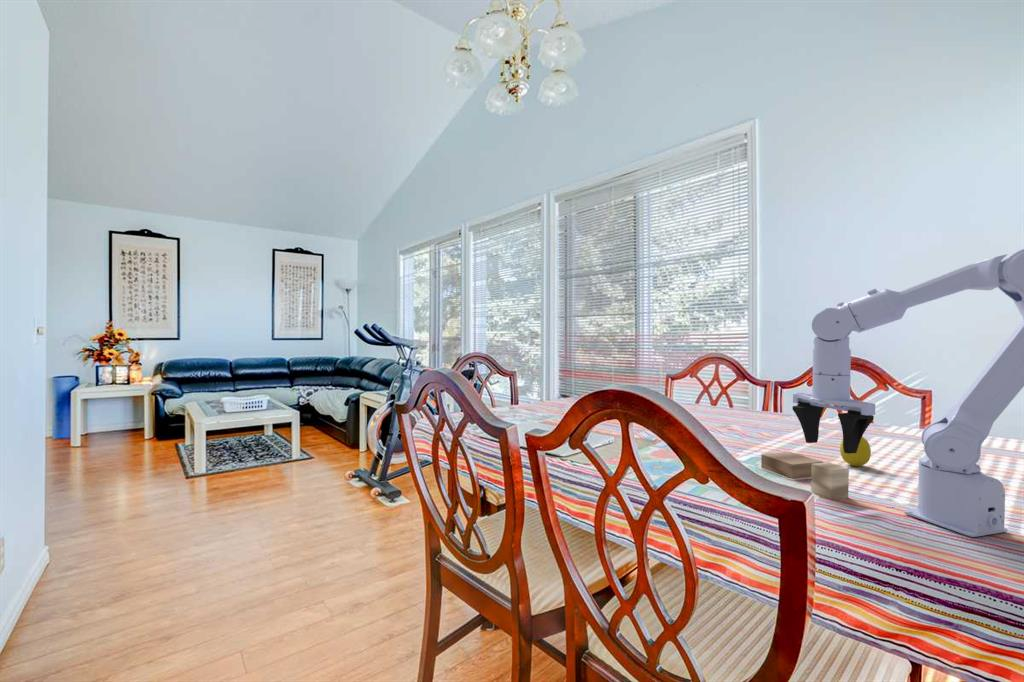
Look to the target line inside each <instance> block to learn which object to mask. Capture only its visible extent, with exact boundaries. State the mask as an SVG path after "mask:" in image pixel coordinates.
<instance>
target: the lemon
mask: <svg viewBox="0 0 1024 682" xmlns="http://www.w3.org/2000/svg"><path fill="white" fill-rule="evenodd" d="M839 450H840V451H839V452H840V456H841V457H842V459H843V461H844V462H845V463H847V464H849V465H850V466H852V467H856V468H857V467H862V466H864V465H866V464H868V462H869V461H870V459H871V456H872V455H871V454H872V451H871V445H870V443H869V442H868V440H867V439H866V438H865V437H863V436H862V438H861V440H860V443H859V446H858V449H857V453H850V454H848V453H844V449H843V439H842V440H841V443H840V448H839Z"/></svg>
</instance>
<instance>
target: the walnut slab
mask: <svg viewBox="0 0 1024 682" xmlns="http://www.w3.org/2000/svg"><path fill="white" fill-rule="evenodd" d="M760 460H761V461H760V463H761V464H760V465H761V466H760V467H761V468H764V469H766V470H769V471H772V472H774V473H777V474H780V475H783V476H785V477H788V478H791V479H797V478H807V477H811V470H812V464H815V463H824V461H822V460H819V459H816V458H813V457H809V456H806V455H802V454H799V453H796V452H792V451H786V452H785V451H784V452H773V453H761V459H760ZM761 468H760V469H761ZM766 470H765V471H766ZM769 471H768V472H769ZM774 473H773V474H774ZM777 474H776V475H777ZM780 475H779V476H780ZM785 477H784V478H785ZM788 478H787V479H788Z"/></svg>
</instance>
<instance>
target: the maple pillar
mask: <svg viewBox="0 0 1024 682" xmlns="http://www.w3.org/2000/svg"><path fill="white" fill-rule="evenodd" d="M849 471H850V469H849V467H845V466H842V465H838V464H835V463H832V462H823V463H815V464H812V470H811V478H810V479H811V485H810V487H811V488H810V492H811V491H812V492H814V493H813V494H815V495H818V496H821V497H823V498H824V499H825V498H826V499H828V500H830V501H831V500H832V501H833V500H839V499H849V483H850V482H849V480H850V479H849V477H850V476H849V475H850V474H849ZM812 492H811V493H812Z"/></svg>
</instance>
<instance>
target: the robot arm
mask: <svg viewBox="0 0 1024 682" xmlns="http://www.w3.org/2000/svg"><path fill="white" fill-rule="evenodd" d="M1007 256H1008V253H1006V254H1001V255H997V256H995V257H994V256H993V257H991V258H987V259H983V260H980V261H976V262H973V263H970V264H967V265H965V266H961V267H960V268H959V267H958V268H957V269H955V270H951V271H950V272H947V273H943V274H941V275H939V276H936V277H934V278H931V279H929V280H926V281H924V282H920V283H918V284H916V285H913V286H911V287H908V288H905V289H903V290H901V291H896V290H892V289H888V288H883V289H880V290H877V289H876V288H873V289H871V290H868V291H867V295H864V296H861V297H858V298H856V299H854V300H850V301H849V302H846V303H844V302H843V301H841V302H838V303H837V304H836V308H835V307H826V308H825V309H823V310H821V311H819V312H818V313H817V314H815V316H814V317H813V319H812V322H811V329H812V332H813V333H814V334H815V336H814V338H813V339H814V340H813V347H814V348H813V349H812V392H811V393H805V392H793V393H792V403H793V404H796V405H792V410H793V412H794V413H795V416H796V417H797V418H798V421H799V423H800V425H801V429H802V433H803V436H804V439H805V443H807V444H816V443H818V440H819V433H820V432H819V430H820V429H819V428H820V422H821V417H822V414H823V411H824V409H826V408H827V409H832V410H838V411H843V412H841V413H840V412H839V413H837V416H838V419H839V422H840V426H841V430H842V440H843V449H844V453H848V454H850V453H857V449H858V446H859V443H860V440H861V438H862V437H863V436H864V434H865V432H866V430H867V429H868V427H869V426H870V424H871V423H872V422H873V420H874V419H875V418H874V416H875V415H876V403H873V402H872V403H871V402H867V401H862V400H858V399H853V398H851V373H852V372H851V369H852V368H851V366H852V364H851V363H852V359H851V358H852V350H851V349H850V336H849V335H851V333H852V332H856V333H863V332H865V331H869V330H872V329H874V328H877V327H881V326H883V325H888V324H890V323H892V322H895V321H899V320H901V319H902V318H903V317H904V315H905V313H906V311H907V310H908V309H910V308H912V307H915V306H918V305H923V304H925V303H928V302H932V301H934V300H938V299H941V298H943V297H947V296H950V295H953V294H954V295H955V294H957V293H960V292H963V291H966V290H972V291H973V290H974V291H975V290H977V291H992V290H995V289H999V290H1000V291H1001V292H1003V293H1004V294H1005V296H1007V297H1009V298H1010V299H1011V300H1013V301H1014V302H1013V303H1014V304H1015V306H1016V308H1017V309H1018V311H1019V313H1020V315H1021V317H1022V321H1021V322H1020V323H1019V324H1018V326H1017V327H1016V328H1015V329H1014V331H1013V332H1012V334H1011V335H1009V337H1008V338H1007V340H1005V342H1004V343H1003V344H1002V346H1001V347H1000V348H999V350H998V351H997V352H996V354H995V355H993V357H992V358H991V360H989V362H988V363H987V365H985V368H984V369H983V370H982V371H981V372H980V374H979V375H978V377H977V378H976V379H975V380H974V381H973V382H972V384H971V385H970V387H969V388H967V390H966V392H965V393H964V394H963V395H962V396H961V397H960V399H959V400H958V401H957V403H956V404H954V406H952V407H951V408H950V409H949V410H947V412H946V413H945V415H944V416H942V417H941V418H940V419H939V420H938V421H935V422H933V423H930V424H928V425H927V426H926V427H924V429H923V431H922V433H921V442H922V445H923V449H924V453H925V455H924V456H923V457H920V458H919V459H918V485H917V486H918V487H917V488H918V491H917V492H918V494H917V495H918V496H917V497H918V498H917V500H918V501H917V508H913V509H905V510H904V511H903V512H904V514H905V515H908V516H911V517H914V518H916V519H920V520H922V521H925V522H928V523H931V524H934V525H935V526H939V527H942V528H945V529H948V530H951V531H953V532H956V533H959V534H961V535H965V536H967V537H972V538H977V537H982V536H989V535H990V536H991V535H995V534H1001V533H1006V532H1008V530H1009V529H1008V528H1007V527H1005V519H1006V518H1005V514H1006V513H1005V512H1006V511H1005V510H1006V507H1005V505H1006V492H1005V488H1004V484H1003V483H1002V482H1001V481H1000V480H999V479H998V478H995V477H994V476H993V477H992V476H989V475H987V474H985V473H983V472H982V468H981V466H980V465H979V464H977V463H978V462H979V461H980V459H981V456H982V455H981V454H982V453H981V451H982V449H981V448H982V446H983V445H982V444H983V443H984V441H985V440H986V439H987V438H988V436H989V435H990V431H992V430H991V429H992V428H993V425H994V423H995V421H996V420H997V419H998V418H999V417H1000V415H1001V414H1002V413H1003V412H1004V411H1005V409H1006V408H1007V407H1008V406H1009V404H1010V403H1011V402H1012V401H1013V400H1014V398H1016V396H1018V394H1019V393H1020V392H1021V390H1022V389H1023V388H1024V248H1022V249H1020V250H1018V251H1016V252H1014V253H1012V254H1011V255H1009V257H1008V258H1006V257H1007ZM1003 259H1004V260H1003Z"/></svg>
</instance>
